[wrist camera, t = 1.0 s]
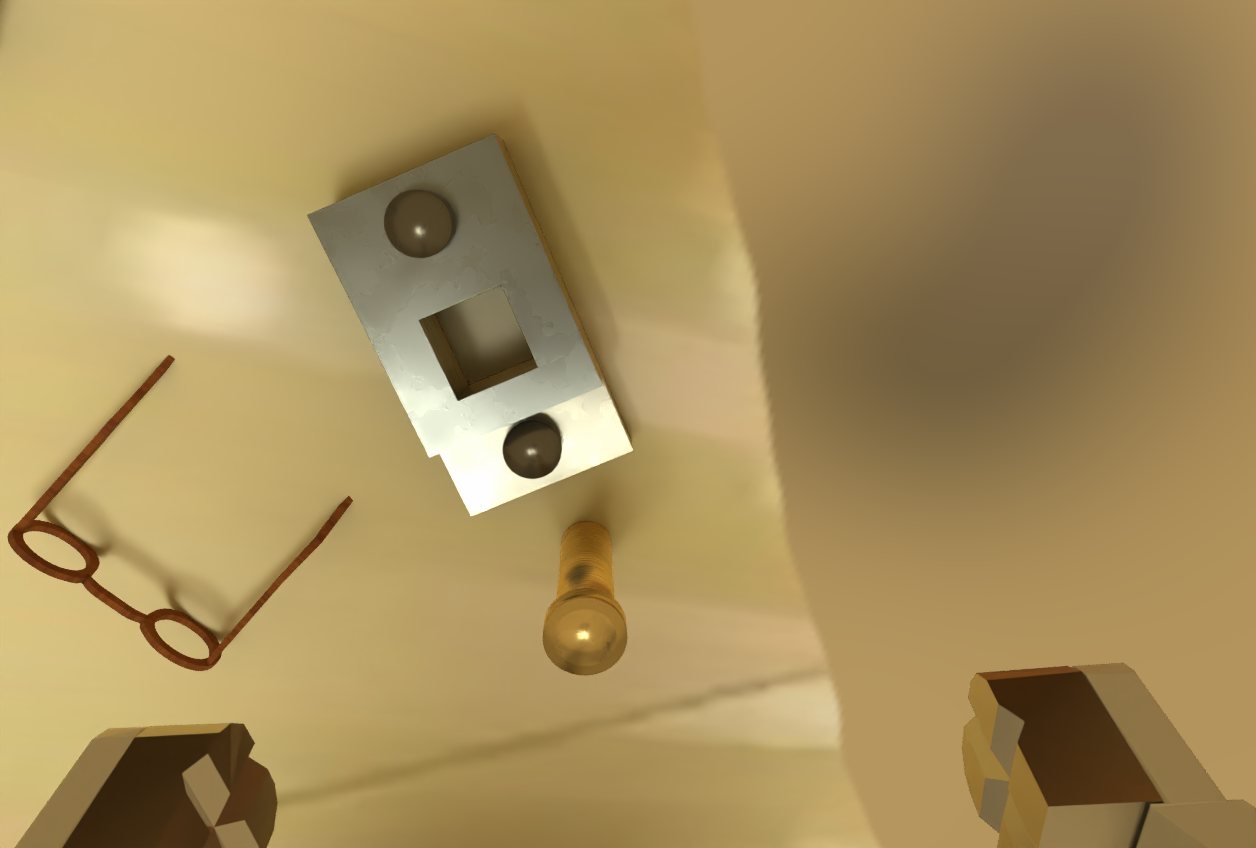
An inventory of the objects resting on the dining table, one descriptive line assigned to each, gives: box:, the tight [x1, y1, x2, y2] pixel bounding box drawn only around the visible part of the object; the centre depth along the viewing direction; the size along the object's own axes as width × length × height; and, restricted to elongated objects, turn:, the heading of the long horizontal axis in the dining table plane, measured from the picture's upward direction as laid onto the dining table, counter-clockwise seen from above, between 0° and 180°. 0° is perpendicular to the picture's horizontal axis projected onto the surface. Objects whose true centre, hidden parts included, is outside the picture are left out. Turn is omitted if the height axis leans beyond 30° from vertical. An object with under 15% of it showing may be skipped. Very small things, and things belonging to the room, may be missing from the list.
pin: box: [543, 521, 627, 675], centre depth 44 cm, size 4×4×11 cm
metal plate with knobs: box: [307, 134, 633, 516], centre depth 43 cm, size 18×10×5 cm, turn 22°
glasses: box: [8, 356, 353, 671], centre depth 45 cm, size 13×13×5 cm
